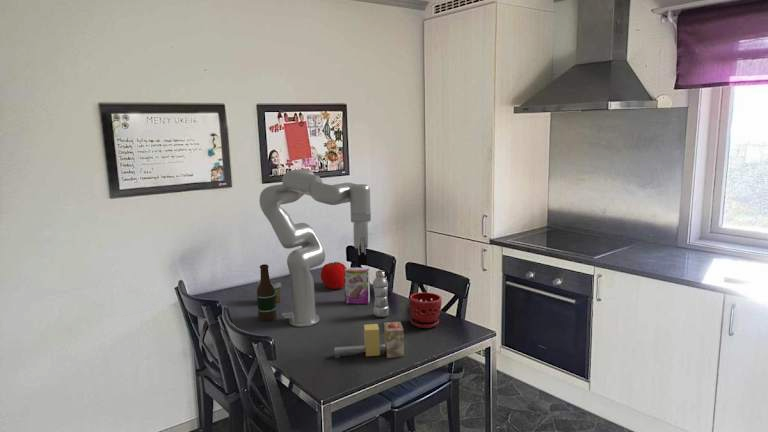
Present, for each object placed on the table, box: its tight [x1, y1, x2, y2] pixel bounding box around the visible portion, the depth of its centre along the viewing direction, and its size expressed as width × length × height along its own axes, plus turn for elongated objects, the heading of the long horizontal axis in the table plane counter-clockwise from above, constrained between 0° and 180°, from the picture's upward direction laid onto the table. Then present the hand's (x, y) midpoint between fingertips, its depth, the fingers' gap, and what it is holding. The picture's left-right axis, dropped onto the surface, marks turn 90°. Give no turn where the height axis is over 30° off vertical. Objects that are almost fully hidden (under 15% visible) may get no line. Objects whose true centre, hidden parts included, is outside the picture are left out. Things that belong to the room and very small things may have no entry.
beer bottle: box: [256, 263, 277, 323], centre depth 217 cm, size 8×8×24 cm
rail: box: [334, 343, 386, 359], centre depth 182 cm, size 19×2×3 cm, turn 97°
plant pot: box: [408, 291, 443, 329], centre depth 208 cm, size 13×13×12 cm
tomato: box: [320, 261, 347, 290], centre depth 258 cm, size 16×14×14 cm
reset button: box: [390, 323, 398, 328], centre depth 182 cm, size 3×3×4 cm
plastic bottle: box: [372, 269, 390, 318], centre depth 217 cm, size 6×7×20 cm
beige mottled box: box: [383, 321, 405, 359], centre depth 182 cm, size 6×8×10 cm
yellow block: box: [363, 323, 381, 357], centre depth 182 cm, size 5×5×10 cm
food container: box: [256, 279, 282, 305], centre depth 237 cm, size 12×6×10 cm, turn 68°
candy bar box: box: [344, 267, 371, 305], centre depth 235 cm, size 11×5×16 cm, turn 84°
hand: (362, 264), depth 193 cm, fingers closed
